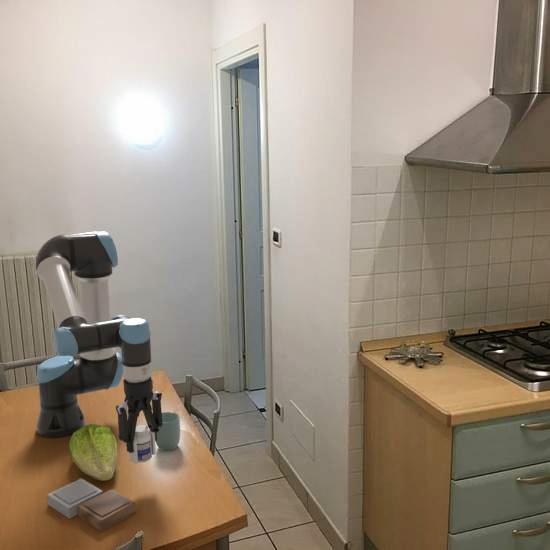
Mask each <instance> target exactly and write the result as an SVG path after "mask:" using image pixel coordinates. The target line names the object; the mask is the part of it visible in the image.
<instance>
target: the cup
mask: <svg viewBox="0 0 550 550" xmlns="http://www.w3.org/2000/svg"><path fill="white" fill-rule="evenodd" d="M162 423H163V425H162V426H161V427H159V428H158V429H159V432H157V441H155V445H156V447H157V448H158V449H160V450H162V451H169V452H170V451H172V450H175V449H176V448H177V447H178V445H179V443H180V442H181V420H180V414H179V413H176V412H172V411H165V412H162Z"/></svg>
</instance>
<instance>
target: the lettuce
mask: <svg viewBox="0 0 550 550" xmlns="http://www.w3.org/2000/svg"><path fill="white" fill-rule="evenodd" d="M68 443H69V444H68V445H69V449H68V450H69V452H70V453H69V454H70V456H71V461H72V462H73V463H74V464H75V465H76V466H77V468H79V470H81V471H82V472H83V474H86V475H87V476H88V477H91V478H92V479H95V480H98V481H109V480H111V479H112V478H113V476H114V474H115V470H116V466H117V461H118V443H117V438H116V436H115V435H114V433H113V431H112V430H111V428H110V427H107V426H103V425H100V424H96V423H95V424H92V423H89V424H85V426H83V427H82V428H81V429H79V430H78V431H76V432H74V433H73V434H71V438H70V440H69V442H68Z"/></svg>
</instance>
